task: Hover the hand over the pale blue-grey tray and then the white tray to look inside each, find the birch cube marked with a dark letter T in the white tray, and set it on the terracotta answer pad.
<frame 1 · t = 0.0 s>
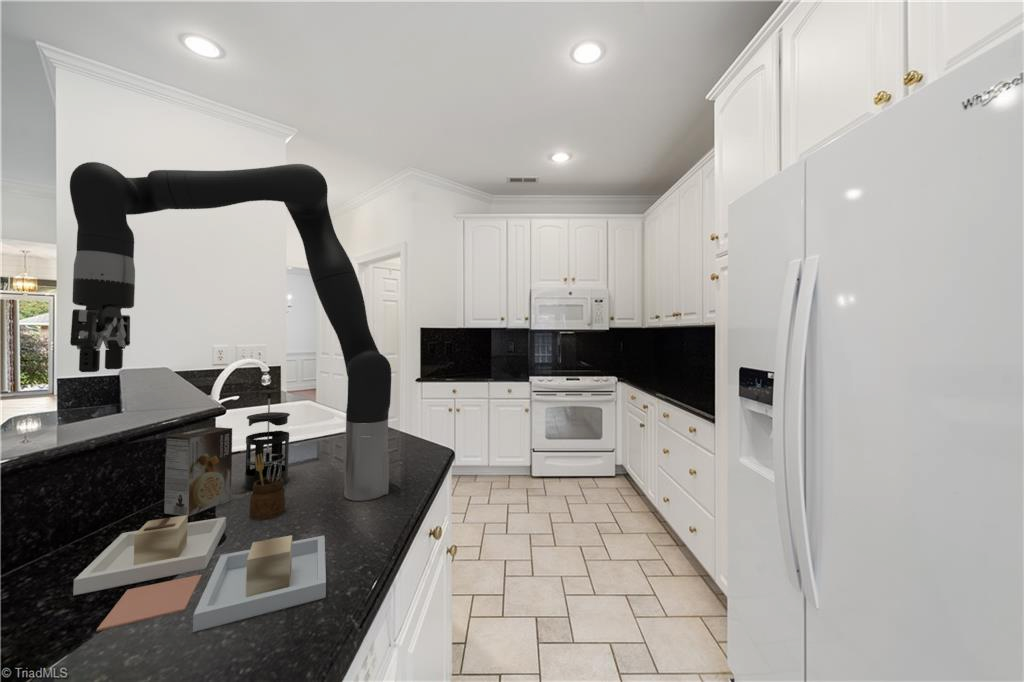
hand: (102, 370, 67), 29 cm above the table, tool pointing down, fingers open, 8 cm apart
coffee box: (198, 509, 78), on the table
blue tray: (269, 586, 54), on the table
white tray: (161, 559, 60), on the table
utensil holder: (267, 517, 75), on the table
answer pad: (154, 604, 49), on the table
french press: (267, 483, 93), on the table
letter cube: (161, 556, 60), point 1 cm above the table, touching white tray
plain cube: (270, 582, 54), point 1 cm above the table, touching blue tray
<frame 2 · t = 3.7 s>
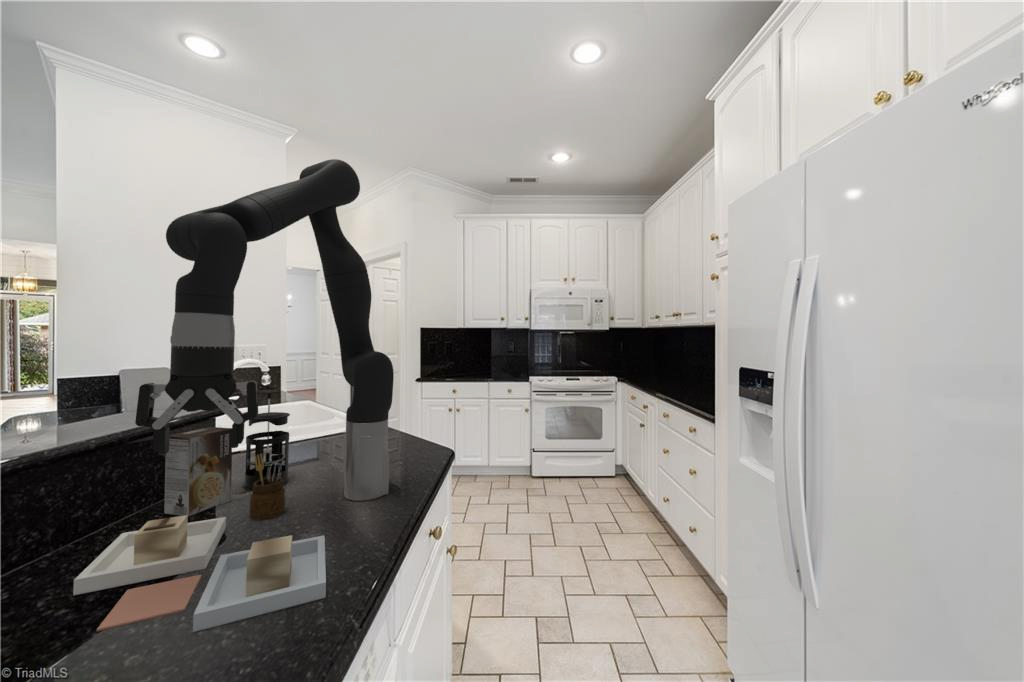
hand: (200, 450, 57), 18 cm above the table, tool pointing down, fingers open, 8 cm apart
nothing on the table moved.
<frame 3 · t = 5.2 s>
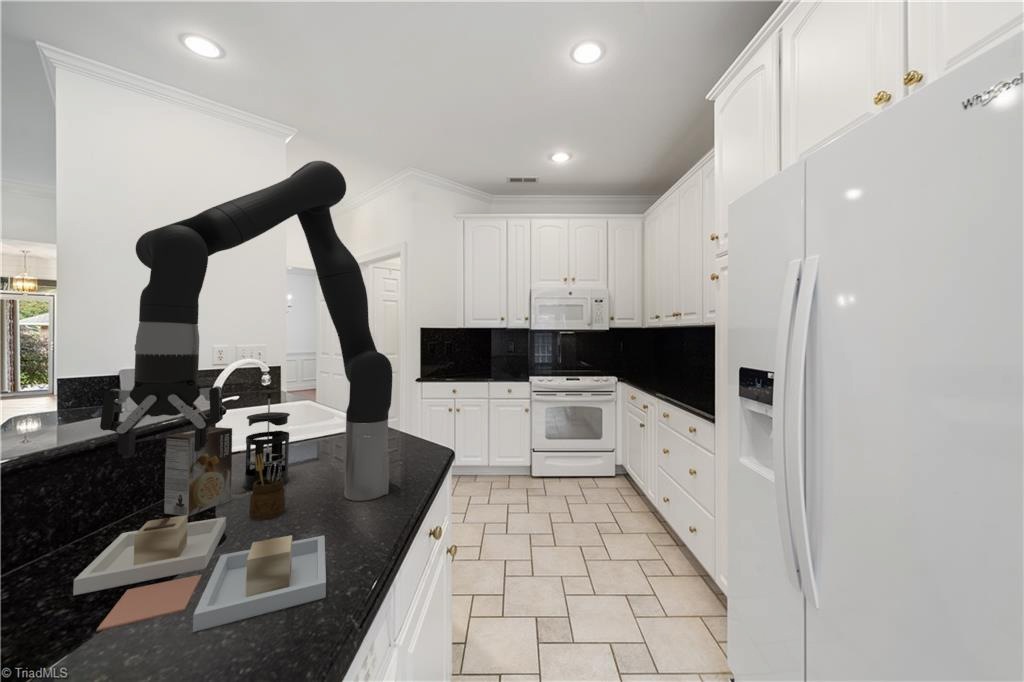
hand: (164, 453, 60), 17 cm above the table, tool pointing down, fingers open, 8 cm apart
nothing on the table moved.
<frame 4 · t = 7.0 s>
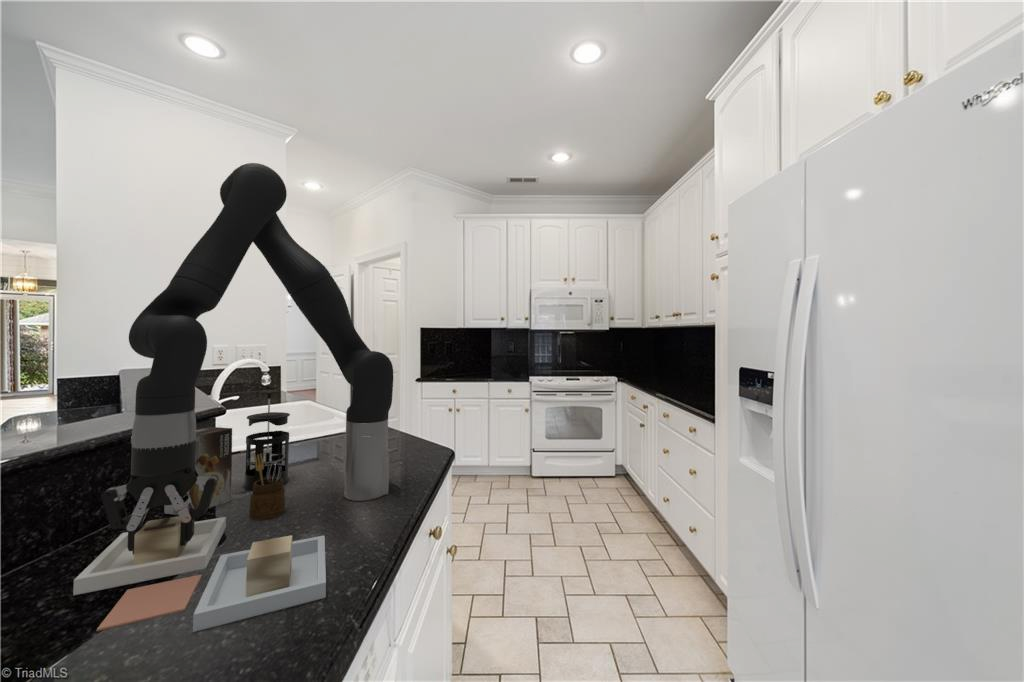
hand: (161, 547, 60), 2 cm above the table, tool pointing down, fingers closed on letter cube, 5 cm apart
letter cube: (161, 556, 60), point 1 cm above the table, touching gripper, white tray
everything else where it was.
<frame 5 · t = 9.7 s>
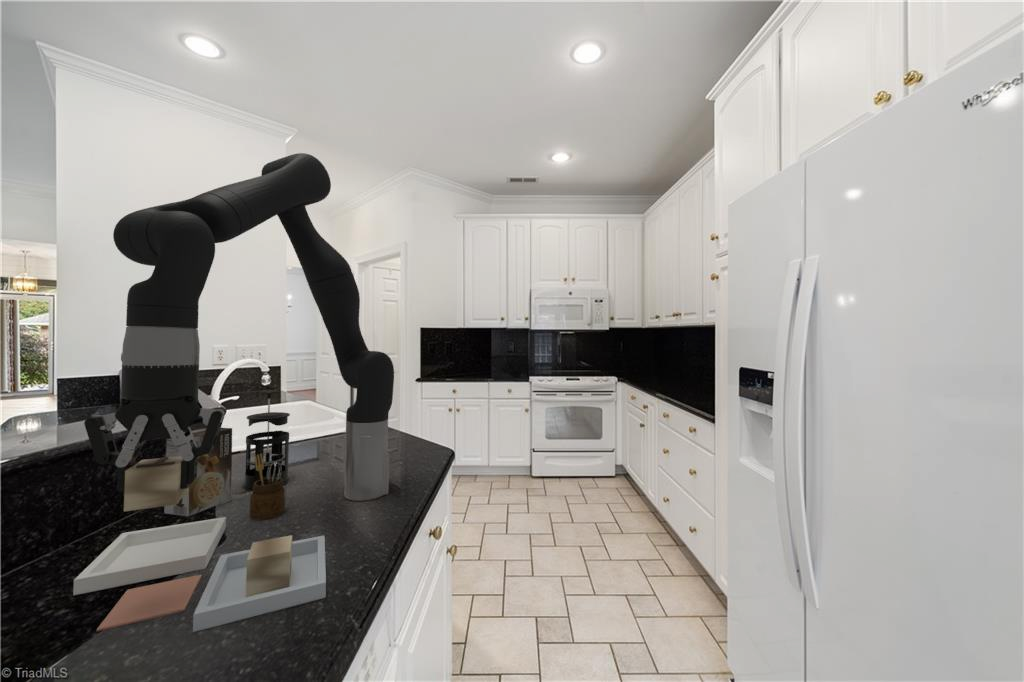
hand: (158, 489, 50), 15 cm above the table, tool pointing down, fingers closed on letter cube, 5 cm apart
letter cube: (158, 500, 50), point 14 cm above the table, touching gripper
everything else where it was.
when the fingers open (3 cm above the table, at t = 12.6 s): letter cube drops 1 cm, resting on answer pad.
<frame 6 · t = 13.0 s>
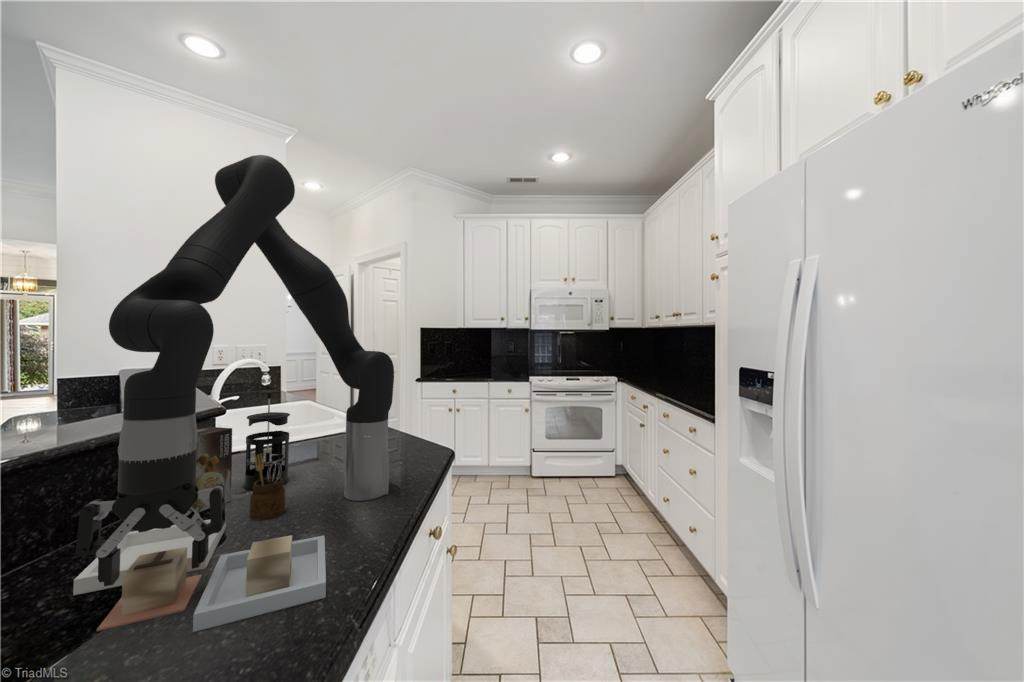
hand: (155, 573, 49), 4 cm above the table, tool pointing down, fingers open, 8 cm apart
letter cube: (155, 598, 50), point 1 cm above the table, touching answer pad
everything else where it was.
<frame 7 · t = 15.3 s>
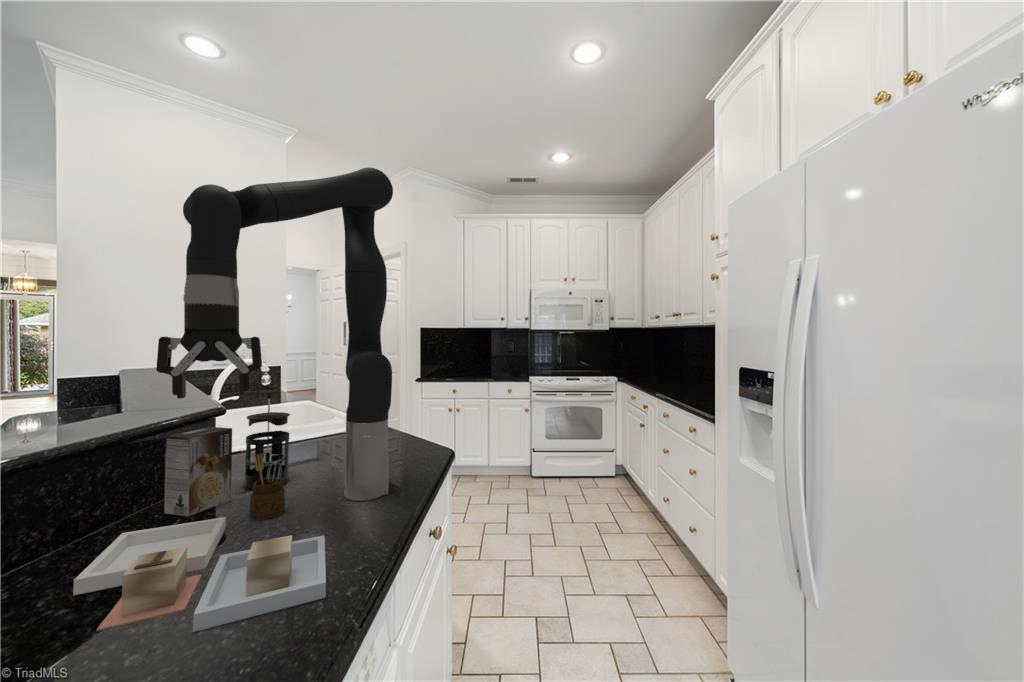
hand: (212, 395, 66), 25 cm above the table, tool pointing down, fingers open, 8 cm apart
nothing on the table moved.
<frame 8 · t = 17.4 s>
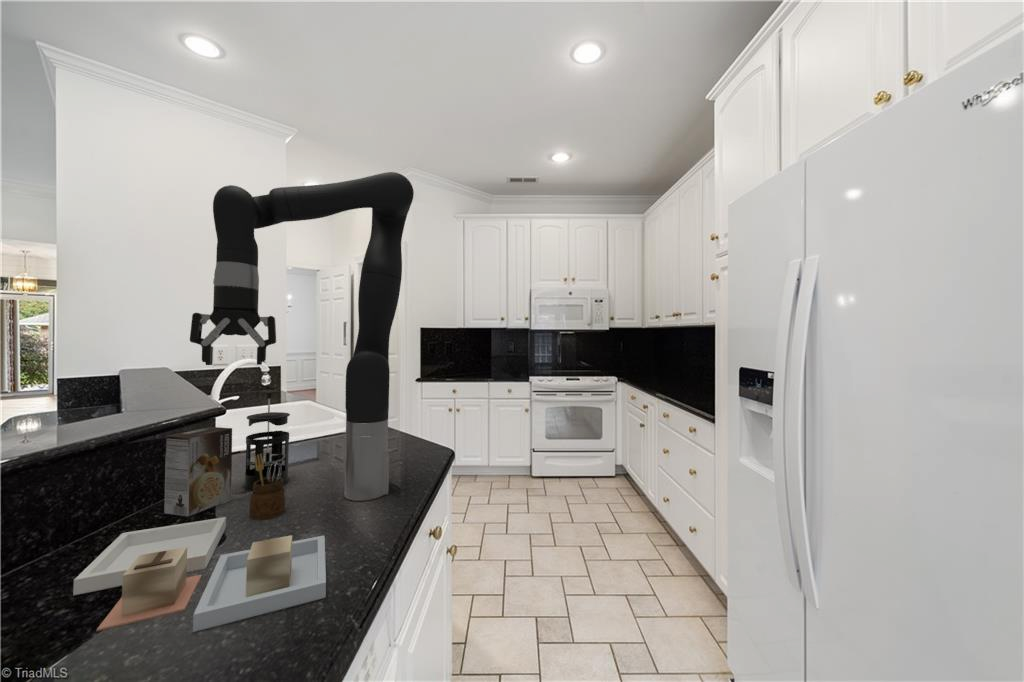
hand: (234, 364, 78), 30 cm above the table, tool pointing down, fingers open, 8 cm apart
nothing on the table moved.
at the end: letter cube 0.1 cm off-centre on the answer pad, point 0.8 cm above the answer pad's base; letter cube tilted 0°; plain cube moved 0.1 cm from its start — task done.
